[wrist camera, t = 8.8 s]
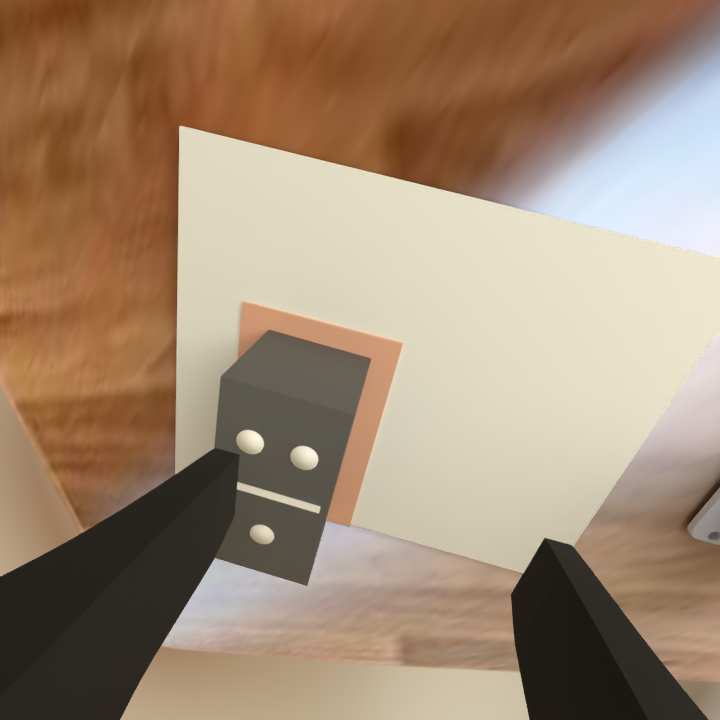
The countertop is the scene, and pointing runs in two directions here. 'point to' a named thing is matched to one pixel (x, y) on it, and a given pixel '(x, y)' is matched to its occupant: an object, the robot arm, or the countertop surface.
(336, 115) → the countertop surface
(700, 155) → the countertop surface
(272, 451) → the domino block
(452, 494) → the cream mat
